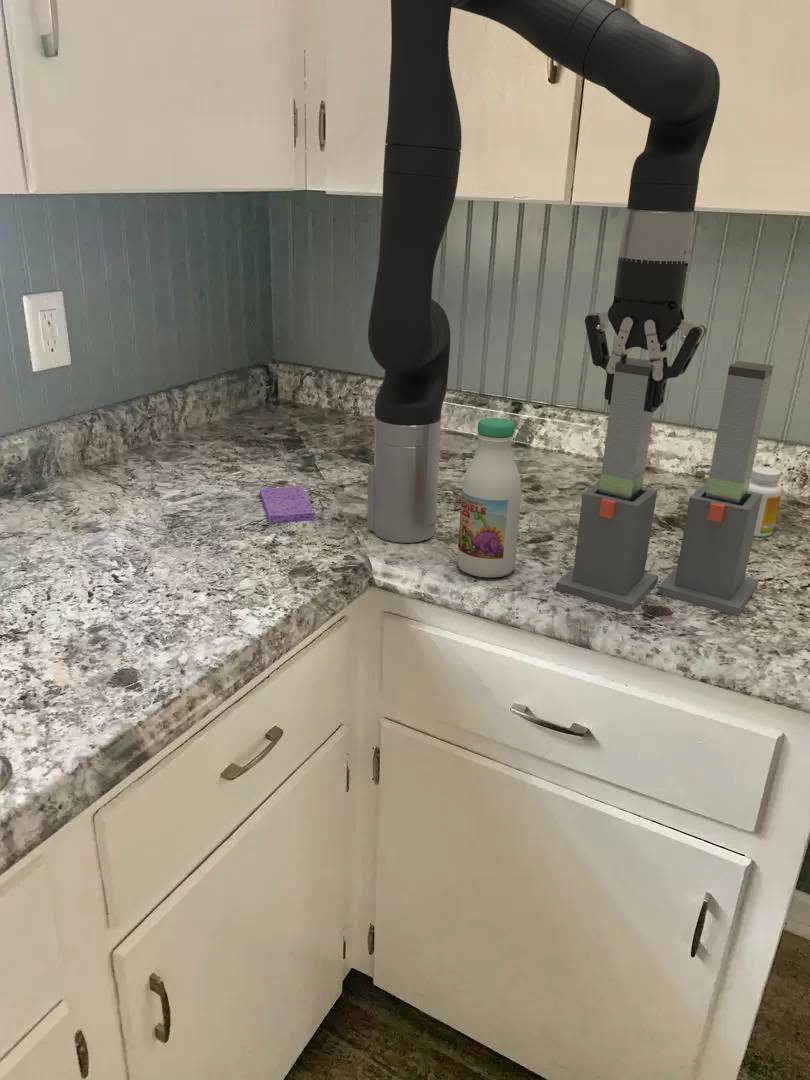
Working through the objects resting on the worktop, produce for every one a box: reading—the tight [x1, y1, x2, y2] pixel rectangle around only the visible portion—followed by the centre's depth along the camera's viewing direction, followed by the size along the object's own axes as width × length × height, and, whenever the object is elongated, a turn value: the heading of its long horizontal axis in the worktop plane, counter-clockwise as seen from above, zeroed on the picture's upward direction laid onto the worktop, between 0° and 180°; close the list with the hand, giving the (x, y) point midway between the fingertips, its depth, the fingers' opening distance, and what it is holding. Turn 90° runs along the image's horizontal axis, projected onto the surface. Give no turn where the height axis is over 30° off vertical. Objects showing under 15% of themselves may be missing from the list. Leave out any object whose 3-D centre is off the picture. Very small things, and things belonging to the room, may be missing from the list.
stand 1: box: [555, 481, 660, 613], centre depth 106 cm, size 10×10×13 cm
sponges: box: [259, 484, 316, 525], centre depth 131 cm, size 7×13×2 cm, turn 16°
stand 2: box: [657, 481, 762, 616], centre depth 106 cm, size 10×10×13 cm
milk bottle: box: [457, 417, 522, 579], centre depth 109 cm, size 8×8×20 cm
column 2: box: [705, 360, 774, 506], centre depth 101 cm, size 4×4×22 cm
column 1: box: [599, 357, 654, 502], centre depth 101 cm, size 4×4×22 cm
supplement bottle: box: [748, 465, 783, 538], centre depth 126 cm, size 5×5×10 cm
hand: (632, 406), depth 99 cm, fingers closed on column 1, 4 cm apart
